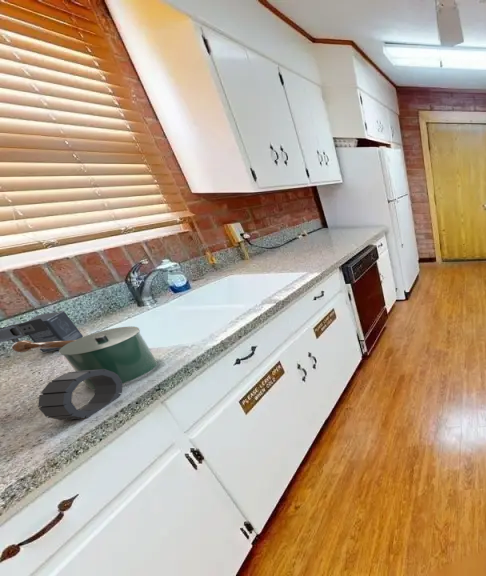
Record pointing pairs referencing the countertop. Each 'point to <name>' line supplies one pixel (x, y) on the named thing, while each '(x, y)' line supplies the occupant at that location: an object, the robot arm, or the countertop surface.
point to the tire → (60, 389)
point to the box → (56, 329)
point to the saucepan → (103, 352)
